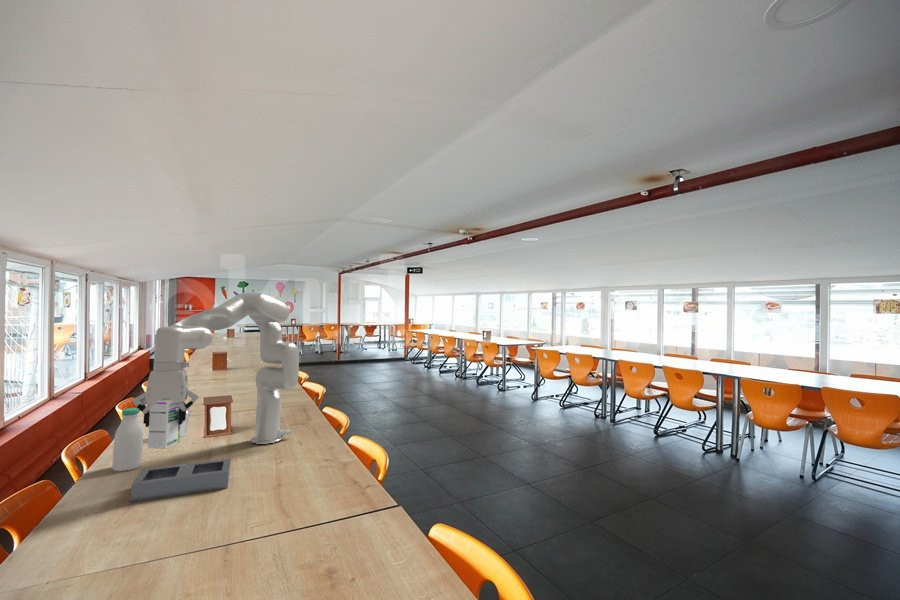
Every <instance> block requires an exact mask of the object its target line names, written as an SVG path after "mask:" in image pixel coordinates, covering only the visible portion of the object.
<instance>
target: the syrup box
mask: <svg viewBox="0 0 900 600" xmlns="http://www.w3.org/2000/svg"><path fill="white" fill-rule="evenodd" d="M180 411H181V408H180V407H179V405H178V404H173V401H172V399H161V400H159V401H157V402H156V404H155V405H151V408H150V413H149V426H148V431H147V433H148V434H147V449H158V450H166V449H168V448H170V447H173V446H174V445H177V444H179V443H180V439H181V437H180V424H179V413H180Z"/></svg>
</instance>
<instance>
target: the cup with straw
mask: <svg viewBox="0 0 900 600" xmlns="http://www.w3.org/2000/svg"><path fill="white" fill-rule="evenodd" d="M188 390H189V391H191V392H195V391H196V389H195V388H194V389H188ZM192 413H193V410H192V409H191V408H190V407H189V408H188V409H187V410H186V419H185V421H183V423H182V424H180V438H182V436H183V437H185V436H186V433H187V429H188V422H189V419H190V416H191V414H192Z"/></svg>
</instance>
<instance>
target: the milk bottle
mask: <svg viewBox="0 0 900 600" xmlns="http://www.w3.org/2000/svg"><path fill="white" fill-rule="evenodd" d="M139 415H140V410H139V409H138V408H137V407H129V408H124V409H122V411H121V418H122V419H121V422H120V424H119V426H118V427H117V429H116V431H115V433H114V434H115V435H114V440H113V450H112V451H113V452H112V454H113V455H112V467H111V469H112V471H114V472H127V470H128V471H132V470H136V469H137V468H139V467H141V465H142V458H143V444H144V443H143V441H144V429H143V426H142V424H141V422H140V419H139Z"/></svg>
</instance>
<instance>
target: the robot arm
mask: <svg viewBox="0 0 900 600" xmlns="http://www.w3.org/2000/svg"><path fill="white" fill-rule="evenodd" d="M247 316H249V318H250V319H251V321H253V322H254V324H256V325H257V327H258V329H259V334H260V336H259V338H260V339H259V340H260V343H259V344H260V345H259V357H260V359H261V361H262V362H263V363H266V364H274V365H275V364H276V365H281V366H276V365H275V366H274V365H265V366H262V367H261V368H259V369H258V370H257V372H256V374H255V386H256V395H257V397H256V410H255V413H256V415H255V429H254V430H255V432H254V433H255V434H254V436H252V437H251V438H250V443H251V442H252V443H251V444H253V443H256V444H255V445H257V444H267V443H273V442H276V441H279V440H281V439H282V438H283V439H284V436H285V435H287V436H289V435H292V429H287V428H285V429H282V428H281V415H282V414H281V413H282V411H281V410H282V395H281V392H280V390H283V391H290V390H293V389H294V388H296V387H297V385H298V381H299V376H300V375H299V374H300V372H299V371H300V370H299V369H300V368H299V367H300V351H299V347H298V346H297V344H296V343H293V342H290V341H283V329H282V326H281V323H284V322H286V320H288V319H289V317H290V309H289V307H288V305H287V304H286V303H285V302H283V301H281V300H279V299H277V298H275V297H273V296H271V295H269V294H266V293H262V292H261V293H260V292H242V293H239V294H237V295H235V296H233V297H231V298H230V299H228V300H227V301H225V302H223V303H221V304H219V305H217V306H216V307H214V308H213V307H212V308H210V309H207V310H204V311H201V312H198V313H194V314H191V315H189V316H186V317H185V318H182V319H181V320H179V321H177V322H175V323H173V324H172V325H170V326H161V327H158V328H157V329H156V331H155V343H154V353H153V354H154V355H153V370H152V371H150V373H149V377H148V380H147V383H146V390H145V391H144V393H142V394H140V395H139V396H136V397H134V398H133V399H132V403H133V405H134V406H135V407H136V408H138V409H139V411H140V412H142V414H143V424H144V425H145V428H149V413H150V408H151V405H155V404H156V402H157V401H159V400H161V399H172V401H173V404H178V405H179V407H180V408H181V411H180V413H179V424H182V423H183V421H185V419H186V410H187V409H188V408H190V407H191V406H192V405H193V404H195V402H196V401H197V400H198V399H199V395H197V394H196V393H194V391H189V390H190V389H188V386H189V385H188V381H189V380H188V373H187V370H186V369H185V368H189V367H190V362H186V361H185V353H186V351H185V350H187V349H188V350H189V349H190V350H202V349H205V348H207V347H209V346H210V345H211V343H212V342H213V337H214V336H213V331H220V330H225V329H229V328H231V327H233V326H234V325H236V324H238V323H239V322H240V321H241V320H242V319H245V317H247ZM188 397H190V398H191V399H190V400H189V401H188V402H187V403H186V402H185V401H187V399H188ZM144 398H145V399H144ZM143 399H144V403H145V404H146V405H145V404H143V402H142V401H141V400H143ZM281 441H282V440H281ZM273 444H274V443H273ZM267 445H268V444H267Z"/></svg>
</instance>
